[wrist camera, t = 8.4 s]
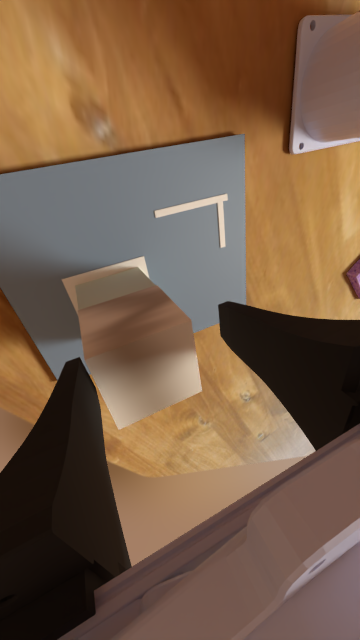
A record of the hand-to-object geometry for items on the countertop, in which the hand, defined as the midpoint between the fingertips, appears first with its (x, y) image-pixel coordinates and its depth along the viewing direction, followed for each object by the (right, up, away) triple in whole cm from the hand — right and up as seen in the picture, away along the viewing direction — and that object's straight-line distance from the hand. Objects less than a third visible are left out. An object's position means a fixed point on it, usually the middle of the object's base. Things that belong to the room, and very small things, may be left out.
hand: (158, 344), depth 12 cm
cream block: (-2, +1, +4) cm, 5 cm away
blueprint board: (-2, +6, +9) cm, 11 cm away
